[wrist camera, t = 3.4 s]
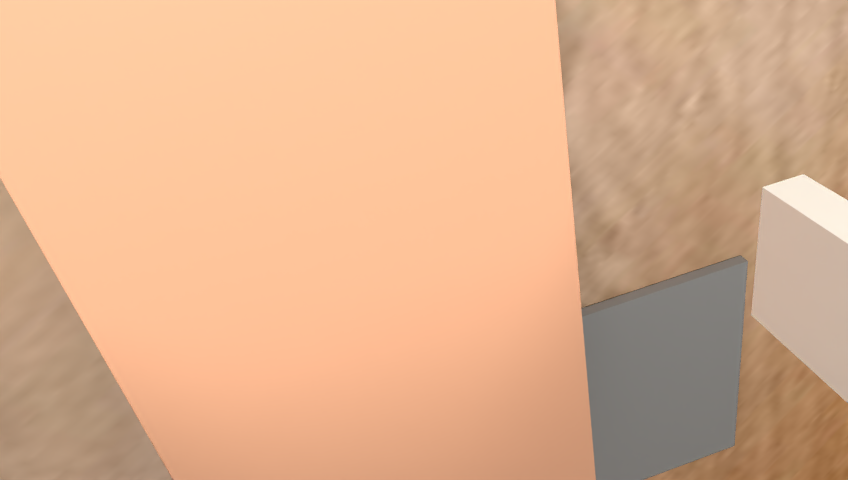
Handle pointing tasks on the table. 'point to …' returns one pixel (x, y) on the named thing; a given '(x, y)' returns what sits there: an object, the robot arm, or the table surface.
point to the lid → (312, 228)
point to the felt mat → (665, 371)
